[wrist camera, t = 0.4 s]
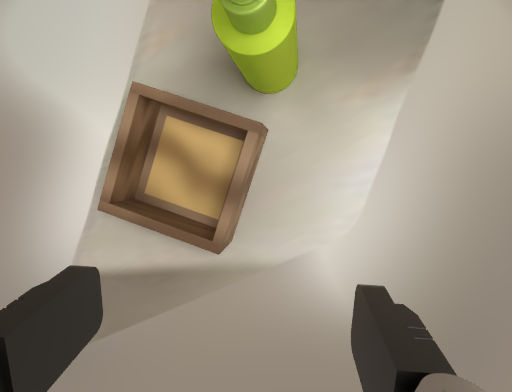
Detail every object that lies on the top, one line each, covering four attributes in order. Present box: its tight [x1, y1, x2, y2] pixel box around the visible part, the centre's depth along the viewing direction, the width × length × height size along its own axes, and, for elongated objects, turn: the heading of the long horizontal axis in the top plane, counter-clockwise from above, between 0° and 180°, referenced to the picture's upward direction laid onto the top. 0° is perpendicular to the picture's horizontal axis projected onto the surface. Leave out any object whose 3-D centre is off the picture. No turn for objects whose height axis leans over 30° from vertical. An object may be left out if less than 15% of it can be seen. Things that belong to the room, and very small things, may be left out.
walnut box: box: [97, 81, 268, 254], centre depth 36 cm, size 13×13×6 cm
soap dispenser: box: [212, 0, 298, 93], centre depth 27 cm, size 6×7×20 cm
